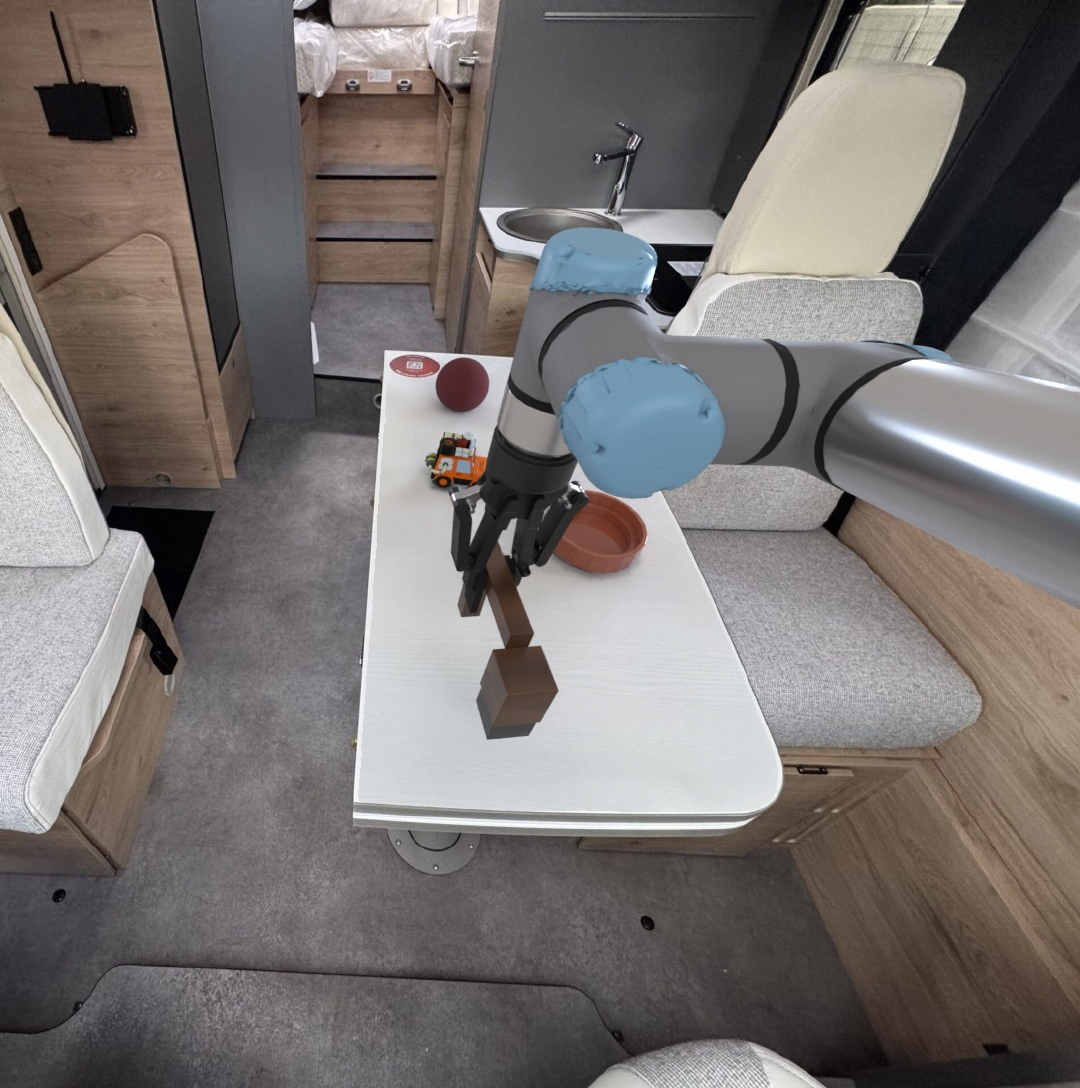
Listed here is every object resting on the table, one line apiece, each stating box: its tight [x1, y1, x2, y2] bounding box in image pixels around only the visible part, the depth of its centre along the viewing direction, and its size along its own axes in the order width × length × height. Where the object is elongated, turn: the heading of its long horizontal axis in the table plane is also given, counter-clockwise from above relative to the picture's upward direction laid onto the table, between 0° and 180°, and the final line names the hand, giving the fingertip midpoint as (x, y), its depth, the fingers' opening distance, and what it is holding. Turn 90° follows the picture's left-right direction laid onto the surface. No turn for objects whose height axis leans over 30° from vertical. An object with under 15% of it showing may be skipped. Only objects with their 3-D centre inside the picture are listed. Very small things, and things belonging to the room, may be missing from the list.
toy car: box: [424, 431, 487, 489], centre depth 94 cm, size 7×12×9 cm, turn 80°
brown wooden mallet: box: [457, 540, 560, 741], centre depth 62 cm, size 18×5×12 cm, turn 6°
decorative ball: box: [435, 357, 490, 413], centre depth 108 cm, size 10×10×10 cm
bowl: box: [553, 489, 649, 574], centre depth 87 cm, size 14×14×4 cm
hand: (483, 602), depth 66 cm, fingers closed on brown wooden mallet, 2 cm apart
